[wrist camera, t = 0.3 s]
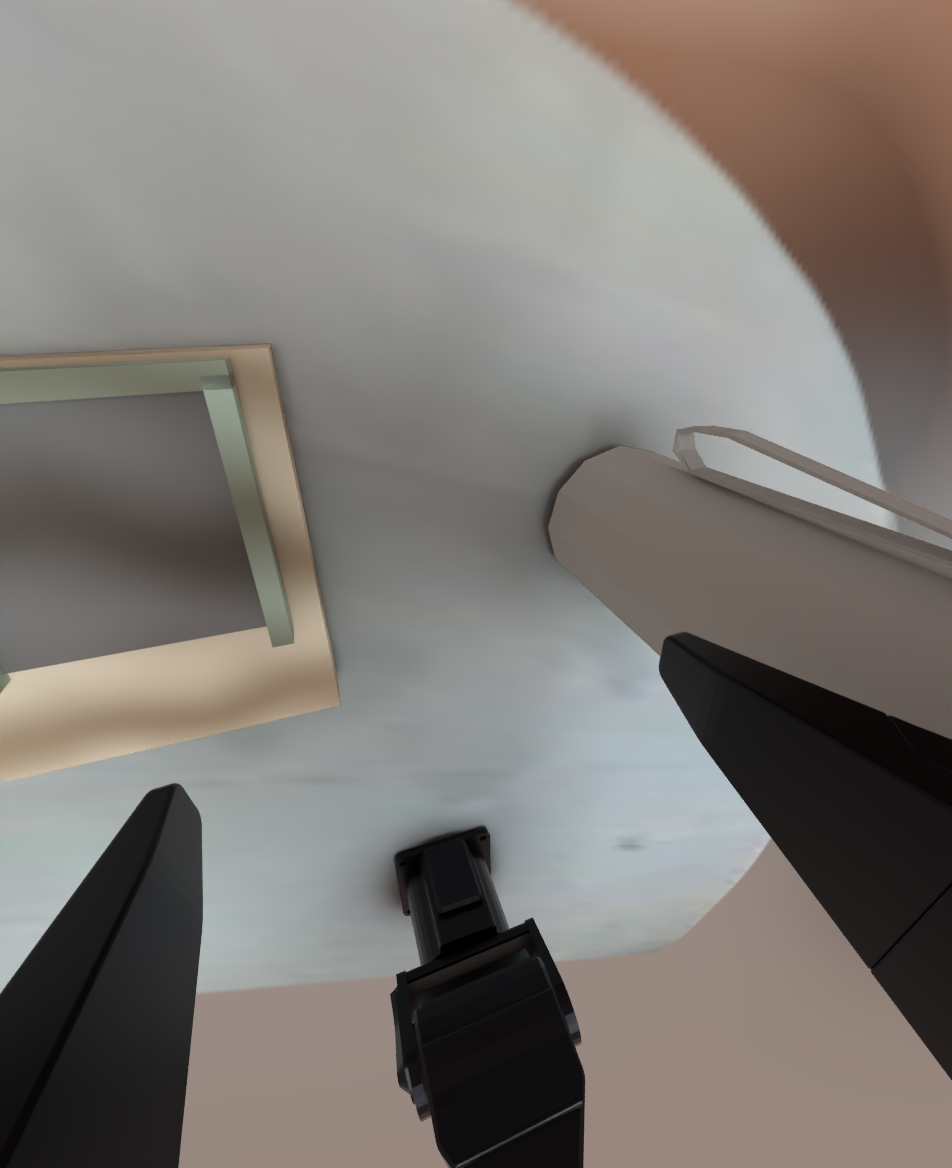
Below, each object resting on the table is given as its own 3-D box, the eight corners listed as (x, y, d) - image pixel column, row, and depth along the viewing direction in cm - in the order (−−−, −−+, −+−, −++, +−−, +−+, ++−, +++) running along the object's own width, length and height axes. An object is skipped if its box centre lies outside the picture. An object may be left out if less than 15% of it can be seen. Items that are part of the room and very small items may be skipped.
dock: (336, 673, 25) (343, 723, 22) (32, 737, 22) (-10, 806, 19) (270, 343, 18) (266, 350, 15) (-198, 364, 15) (-326, 379, 12)
